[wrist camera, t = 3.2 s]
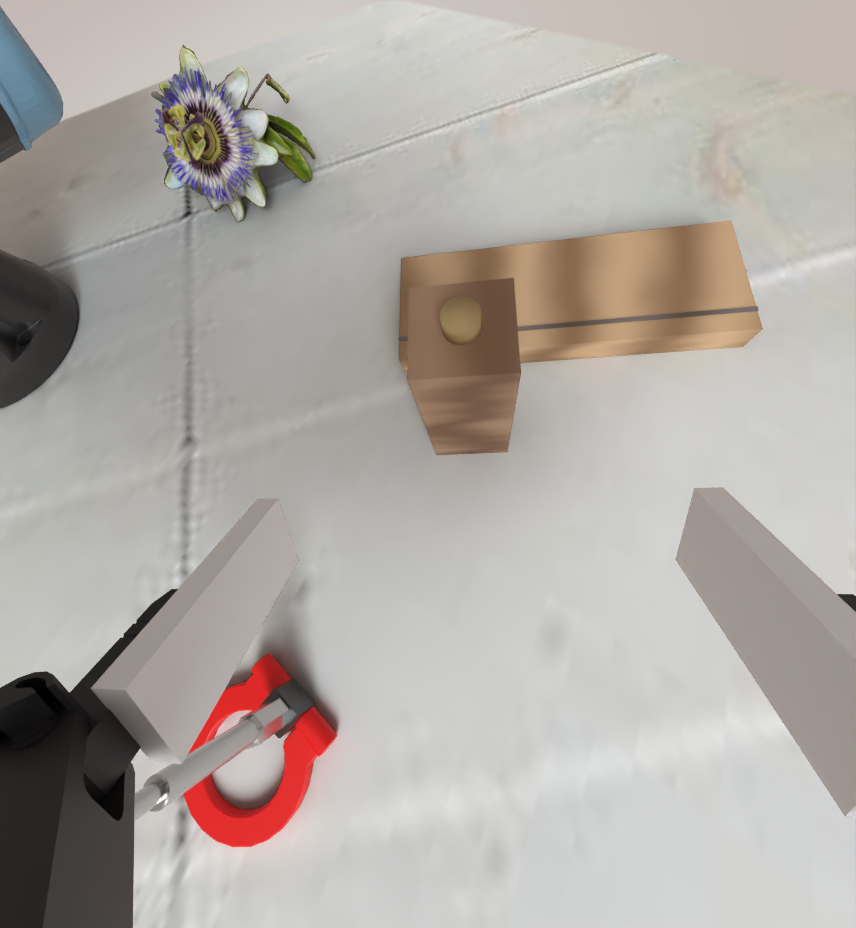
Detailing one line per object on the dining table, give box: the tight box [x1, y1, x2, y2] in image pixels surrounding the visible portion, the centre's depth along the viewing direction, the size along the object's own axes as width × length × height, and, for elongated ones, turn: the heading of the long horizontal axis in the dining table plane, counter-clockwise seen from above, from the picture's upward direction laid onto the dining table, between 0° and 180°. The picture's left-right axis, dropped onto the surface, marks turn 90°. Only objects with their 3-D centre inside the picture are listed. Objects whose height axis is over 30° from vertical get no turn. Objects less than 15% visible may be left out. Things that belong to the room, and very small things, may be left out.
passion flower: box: [151, 45, 315, 222], centre depth 35 cm, size 11×11×12 cm
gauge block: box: [407, 278, 521, 455], centre depth 22 cm, size 5×5×12 cm
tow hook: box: [134, 654, 337, 847], centre depth 18 cm, size 8×13×9 cm
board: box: [399, 221, 762, 371], centre depth 29 cm, size 24×9×2 cm, turn 90°
